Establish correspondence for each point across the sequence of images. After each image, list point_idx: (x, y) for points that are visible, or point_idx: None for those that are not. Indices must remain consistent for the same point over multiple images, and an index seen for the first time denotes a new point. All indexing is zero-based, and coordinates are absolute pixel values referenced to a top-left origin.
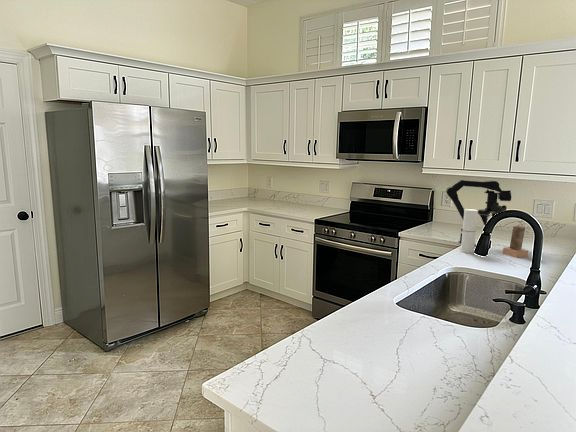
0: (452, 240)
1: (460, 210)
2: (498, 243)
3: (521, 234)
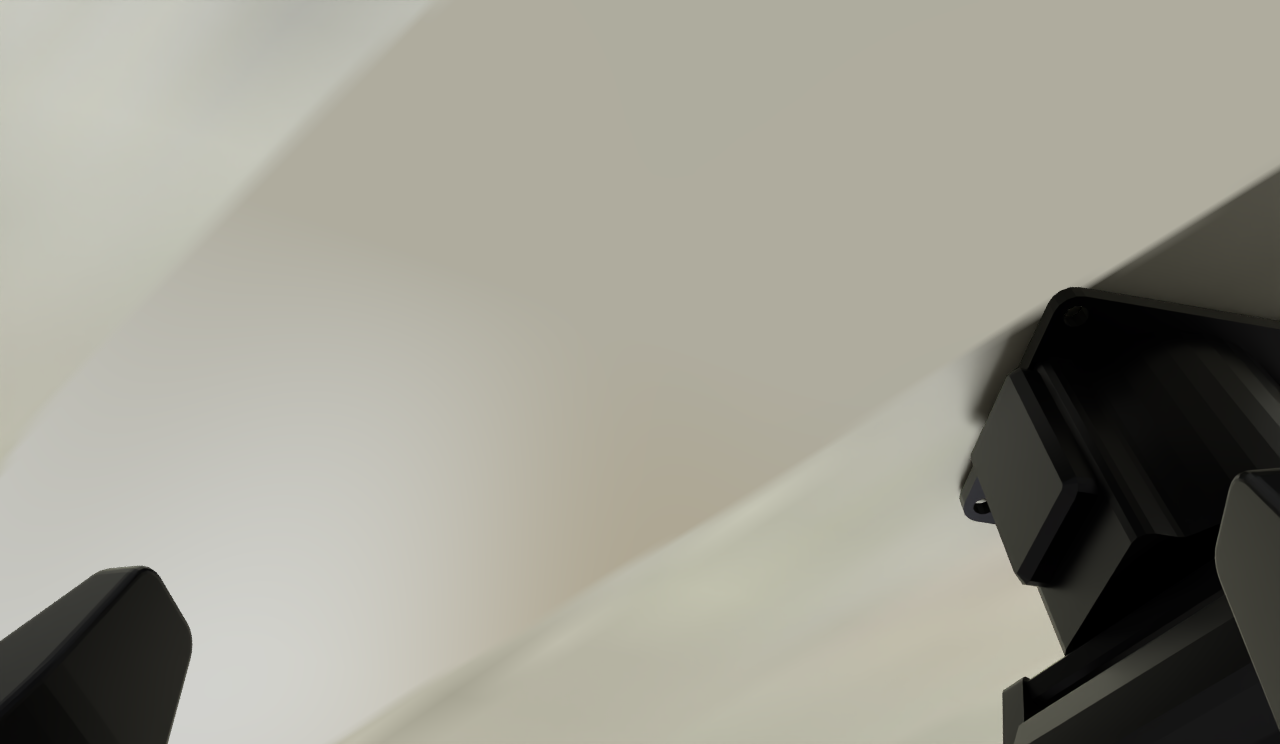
0: None
1: None
2: (183, 125)
3: None
